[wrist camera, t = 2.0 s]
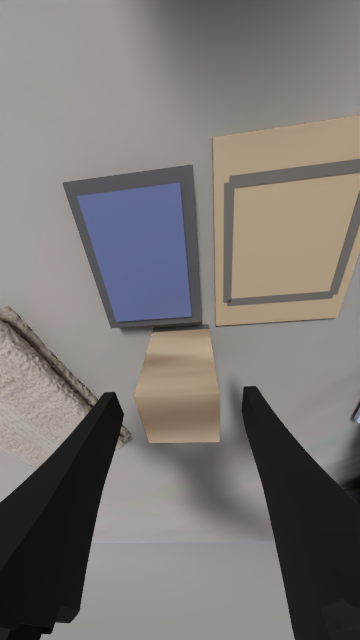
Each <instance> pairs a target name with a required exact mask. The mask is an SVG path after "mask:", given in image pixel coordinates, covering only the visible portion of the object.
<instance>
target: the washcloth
mask: <svg viewBox="0 0 360 640" xmlns="http://www.w3.org/2000/svg"><path fill="white" fill-rule="evenodd" d="M97 401H98V399H97V398H96V396H95V395H92V394H91V392H90V391H89V389H88V388H87V387H85V386H84V385H83V384H82V383H81V382H79V380H78V379H77V378H76V377H75V376H74V375H72V374H71V373H70V371H69V370H68V369H67V368H66V366H65V365H64V364H63V363H61V362H59V360H58V359H57V358H56V357H55V356H54V355H53V354H52V352H51V351H50V350H49V349H48V348H47V347H46V346H45V344H44V343H43V342H42V341H41V340H40V339H39V338H38V337H37V336H36V335H35V334H34V332H33V331H32V330H31V329H30V328H29V327H28V325H27V324H26V323H25V322H24V321H23V320H22V319H21V318H20V317H19V315H18V314H17V313H16V312H15V311H13V310H12V309H11V308H10V307H9V306H7V307H5V308H3V309H0V448H1V449H3V450H5V451H7V452H9V453H11V454H13V455H15V456H16V457H18V458H19V459H21V460H23V461H24V462H25V463H27V464H28V465H31V466H36V467H40V466H41V465H42V464H43V463H44V462H45V461H46V460H47V459H48V458H49V457H50V456H51V455H52V454H53V453H54V452H55V450H56V449H57V448H58V447H59V446H60V445H61V444H62V443H63V442H64V441H65V439H66V438H67V437H68V436H69V435H70V434H71V433H72V432H73V430H74V429H75V428H76V427H77V426H78V425H79V423H80V422H81V421H82V420H83V419H84V417H85V416H86V415H87V414H88V412H89V411H90V410H91V409H92V407H93V406H94V405H95V404H96V402H97ZM129 436H130V434H129V433H128V431H127V429H126V428H124V427H123V426H122V427H121V432H120V435H119V439H118V442H117V445H116V448H115V450H116V449H117V448H118V449H119V448H123V447H124V446H125V445H126V443H127V442H128V439H129Z"/></svg>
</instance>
